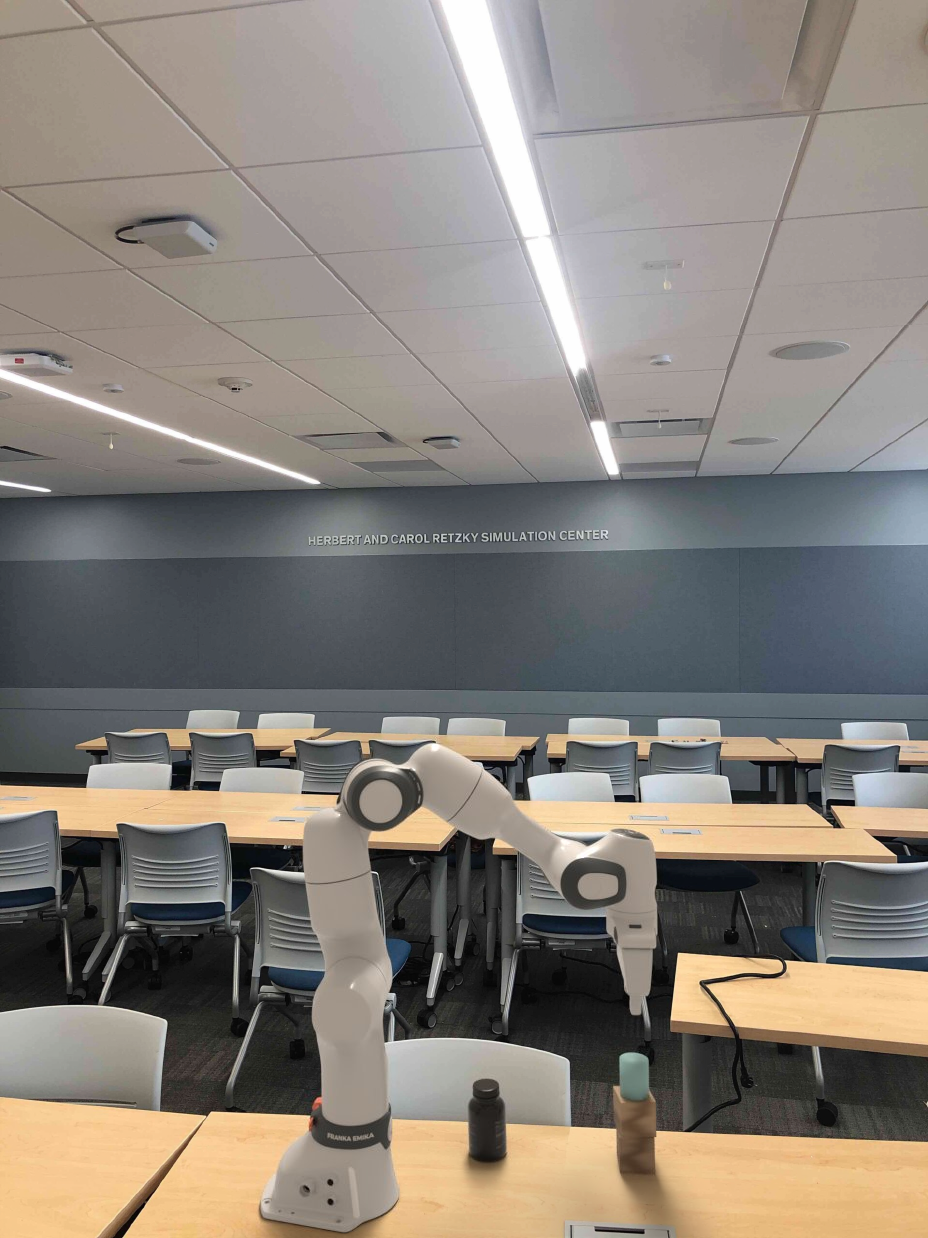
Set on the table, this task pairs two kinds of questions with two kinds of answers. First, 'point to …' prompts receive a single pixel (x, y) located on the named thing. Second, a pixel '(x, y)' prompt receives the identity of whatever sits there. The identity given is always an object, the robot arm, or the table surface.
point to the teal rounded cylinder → (634, 1076)
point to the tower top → (634, 1116)
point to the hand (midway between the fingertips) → (632, 1002)
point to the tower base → (636, 1155)
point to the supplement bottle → (487, 1122)
